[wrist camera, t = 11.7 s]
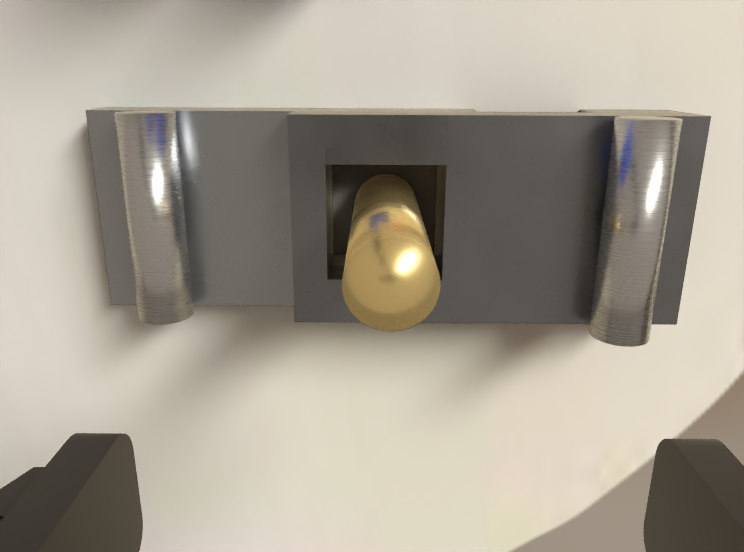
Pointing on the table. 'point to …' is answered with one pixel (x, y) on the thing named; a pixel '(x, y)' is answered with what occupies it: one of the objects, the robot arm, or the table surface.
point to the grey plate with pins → (453, 210)
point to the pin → (389, 258)
